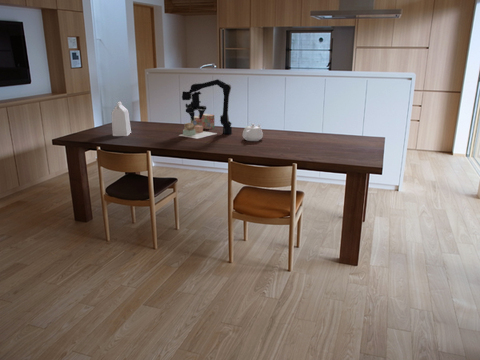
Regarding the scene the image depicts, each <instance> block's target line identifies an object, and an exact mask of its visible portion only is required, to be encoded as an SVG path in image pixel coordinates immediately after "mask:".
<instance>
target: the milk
mask: <svg viewBox="0 0 480 360" xmlns="http://www.w3.org/2000/svg"><path fill="white" fill-rule="evenodd" d="M111 111H112V112H111V127H112V128H111V129H112V136H113V137H128V136H129V135H130V133H131V134H132V130H131V121H130V120H131V119H130V114H129V110H128V108H126V107H125V106H124V105H123V103H122V101H118V102H117V103H116V106H115V107H113V110H111Z"/></svg>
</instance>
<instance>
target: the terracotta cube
mask: <svg viewBox="0 0 480 360" xmlns="http://www.w3.org/2000/svg"><path fill="white" fill-rule="evenodd" d="M194 129H195V131H196V133H201V132H203V131H204V128H203V126H200V125H197V126H194Z"/></svg>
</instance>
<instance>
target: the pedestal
mask: <svg viewBox="0 0 480 360" xmlns="http://www.w3.org/2000/svg"><path fill="white" fill-rule="evenodd" d="M182 134H183V135H187V136H192V135H196V131H195V129H194V130H190V131H189V130H185V129H183V130H182Z"/></svg>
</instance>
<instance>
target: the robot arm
mask: <svg viewBox="0 0 480 360" xmlns="http://www.w3.org/2000/svg"><path fill="white" fill-rule="evenodd" d="M216 85H217V87H219V88H220V89H222V93H223V107H222V115H220V120H219V122H220V124H221V125H222V126H223V127H222V135H226V136H230V135H233V127H232V124H233V123H232V122H231V121H230V120H229V99H230V98H229V97H230V94H231V90H232V86H231V84H229V83H226V82H224V81H223V80H221V79H219V78H217V79H214V80H210V81H207V82H202V83H193V84H191V85H190V89H189V91H185V90H184V91H182V94H181V95H182V96H181V99H182V101H190V103H188V102H186V103H185V112H186V113H187V114H189V117H190V120H191V119H192V121H194V116H195V113H196V112H195V111H198V113H199V114H198V117H199V116H200V119H201V118H202V116H203V114H205V112H206V110H207V106H206V105H201V101H200V95H202V92H201V91H200V90H202V89H204V88H210V87H213V86H216Z"/></svg>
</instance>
